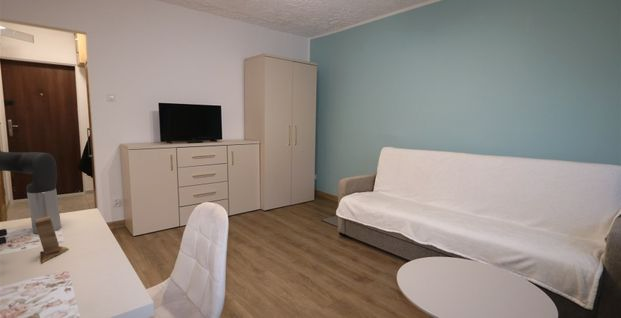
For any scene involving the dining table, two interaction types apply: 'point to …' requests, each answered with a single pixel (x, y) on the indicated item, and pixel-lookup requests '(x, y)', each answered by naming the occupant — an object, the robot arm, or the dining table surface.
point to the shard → (51, 254)
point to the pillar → (47, 235)
